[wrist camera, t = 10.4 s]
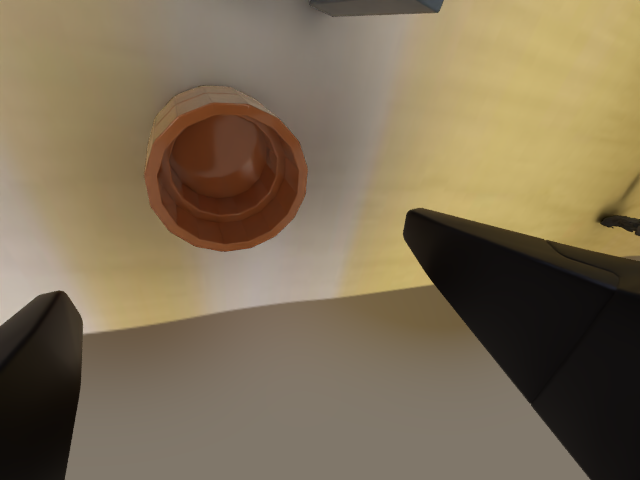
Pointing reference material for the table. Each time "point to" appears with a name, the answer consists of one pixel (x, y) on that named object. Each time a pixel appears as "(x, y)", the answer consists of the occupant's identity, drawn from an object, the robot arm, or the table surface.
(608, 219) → the artificial flower
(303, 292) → the table surface
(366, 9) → the drawer
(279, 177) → the flower pot
